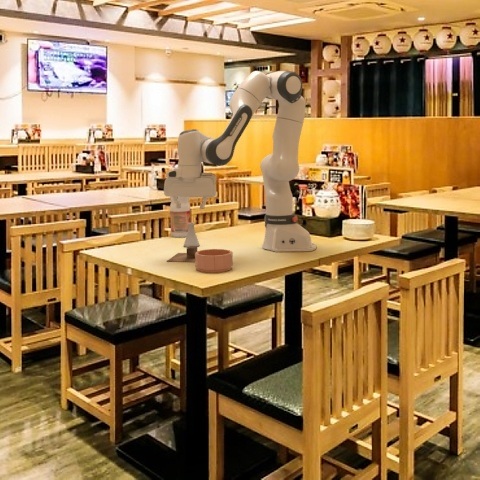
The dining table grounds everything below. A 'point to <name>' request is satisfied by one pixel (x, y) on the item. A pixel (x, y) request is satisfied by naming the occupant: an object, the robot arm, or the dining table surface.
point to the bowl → (214, 260)
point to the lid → (185, 255)
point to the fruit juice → (180, 217)
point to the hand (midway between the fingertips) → (190, 208)
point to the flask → (191, 236)
